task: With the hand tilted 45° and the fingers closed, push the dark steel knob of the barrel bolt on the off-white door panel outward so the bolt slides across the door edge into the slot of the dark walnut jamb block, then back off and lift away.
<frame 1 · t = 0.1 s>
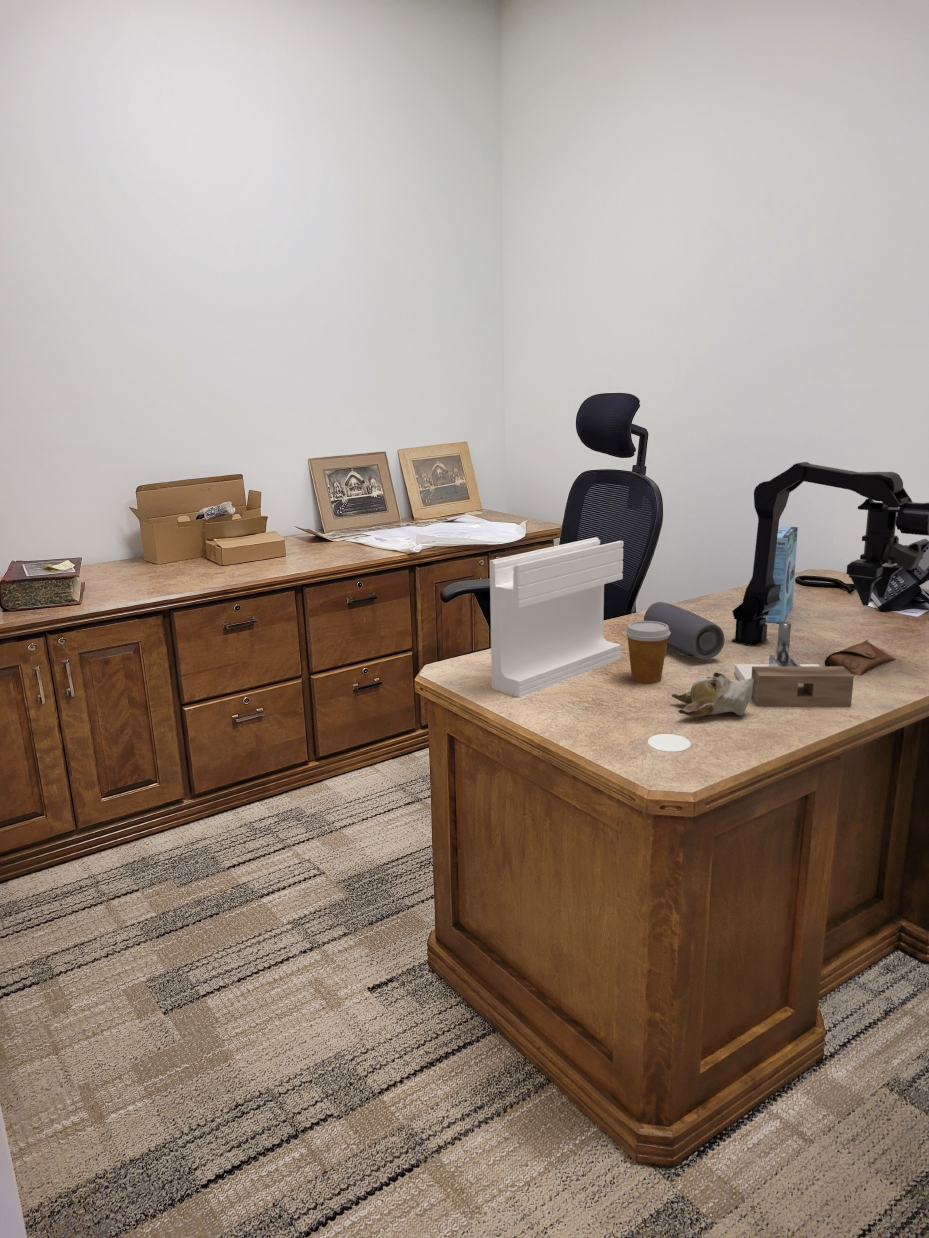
hand: (873, 601, 192), 15 cm above the table, fingers open, 9 cm apart
disposable coffee cup: (646, 679, 190), on the table
light blue flat box: (778, 615, 239), on the table
door jamb: (800, 686, 175), on the table
bolt: (787, 650, 184), point 7 cm above the table, slide at 0.0 cm
door panel: (787, 686, 184), on the table
ceramic sculpture: (712, 714, 170), on the table
sunglasses case: (860, 666, 197), on the table
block: (559, 673, 196), on the table
bluetooth speaker: (681, 651, 210), on the table
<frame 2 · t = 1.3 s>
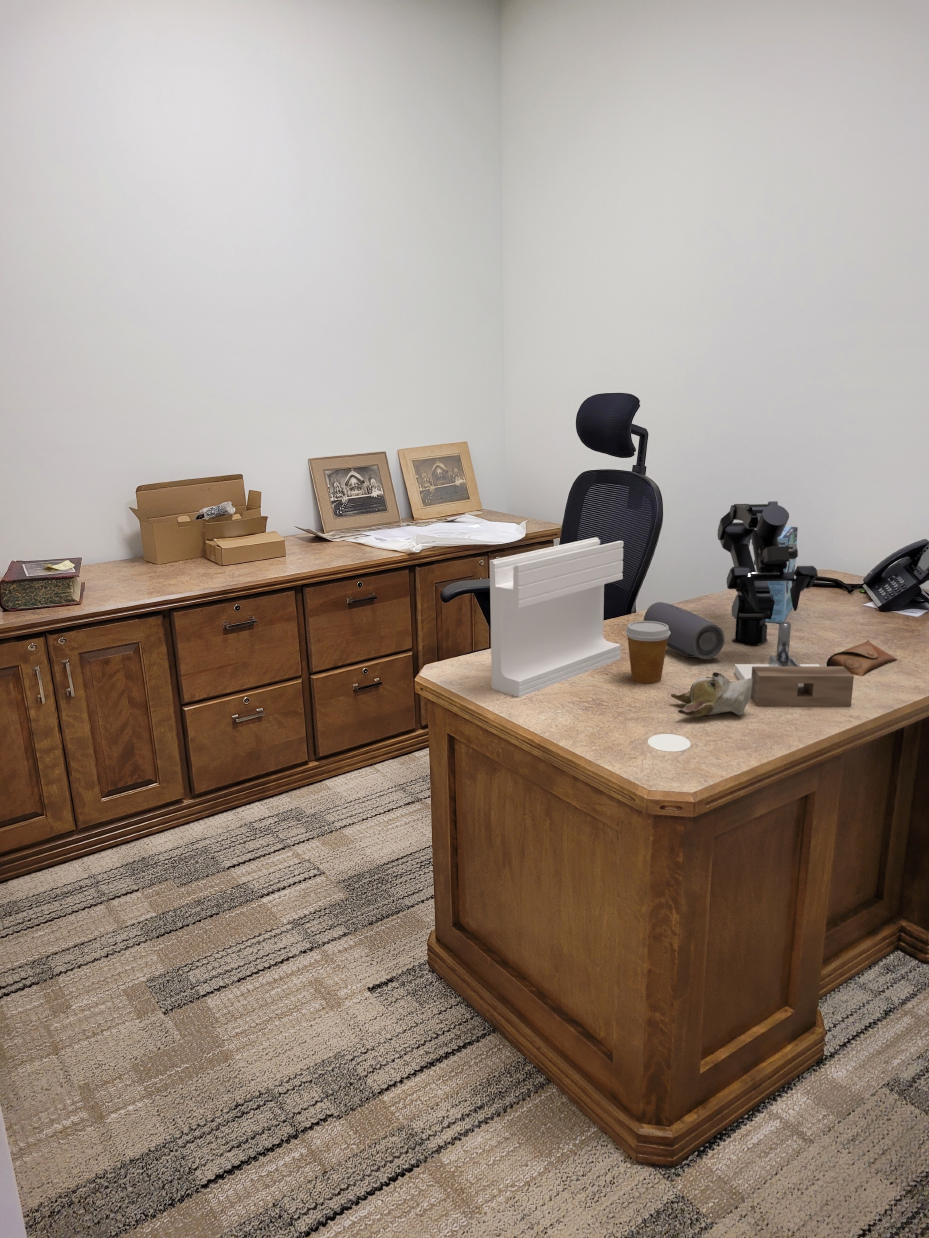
hand: (776, 610, 192), 13 cm above the table, fingers open, 8 cm apart
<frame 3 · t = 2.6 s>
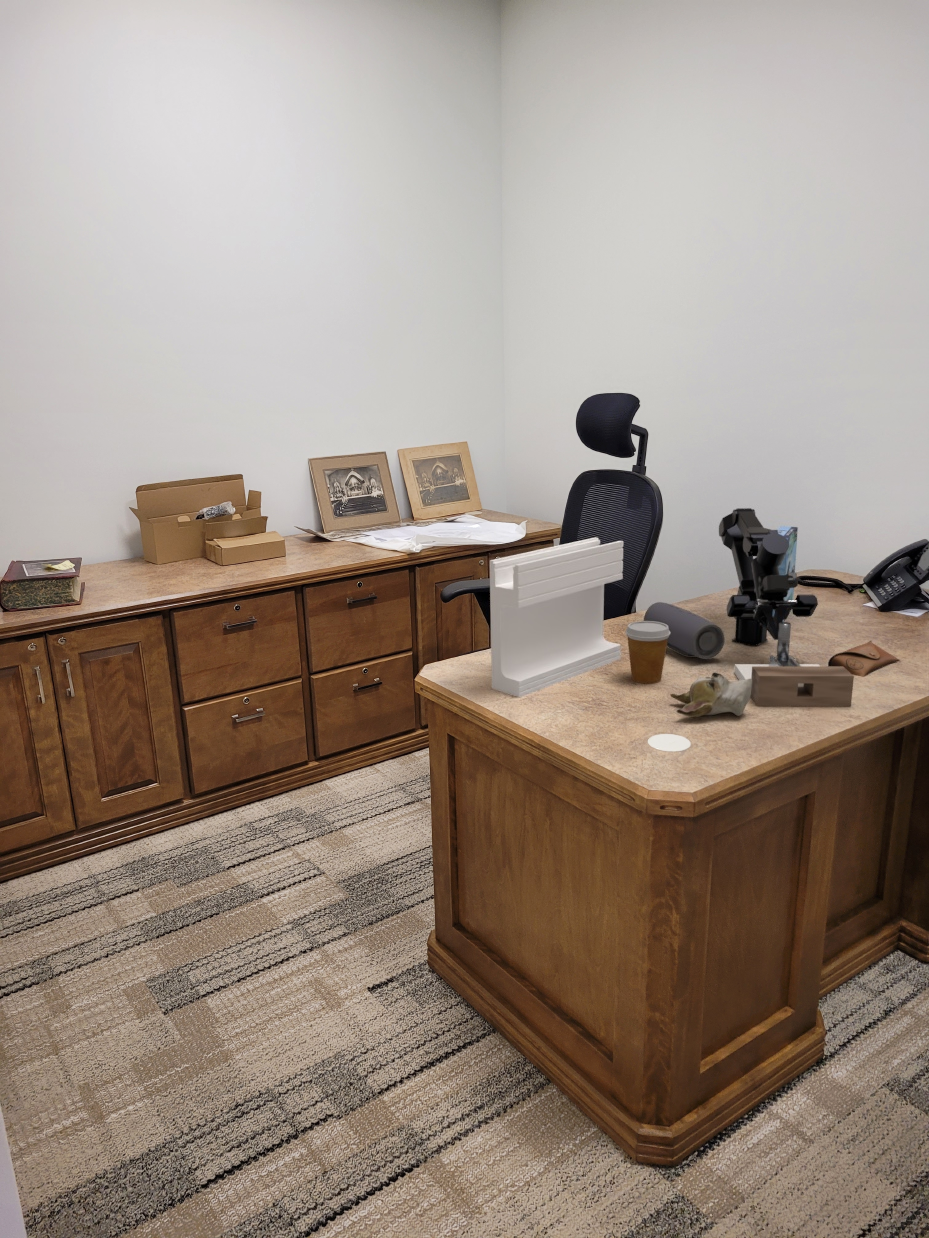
hand: (776, 638, 192), 7 cm above the table, fingers closed
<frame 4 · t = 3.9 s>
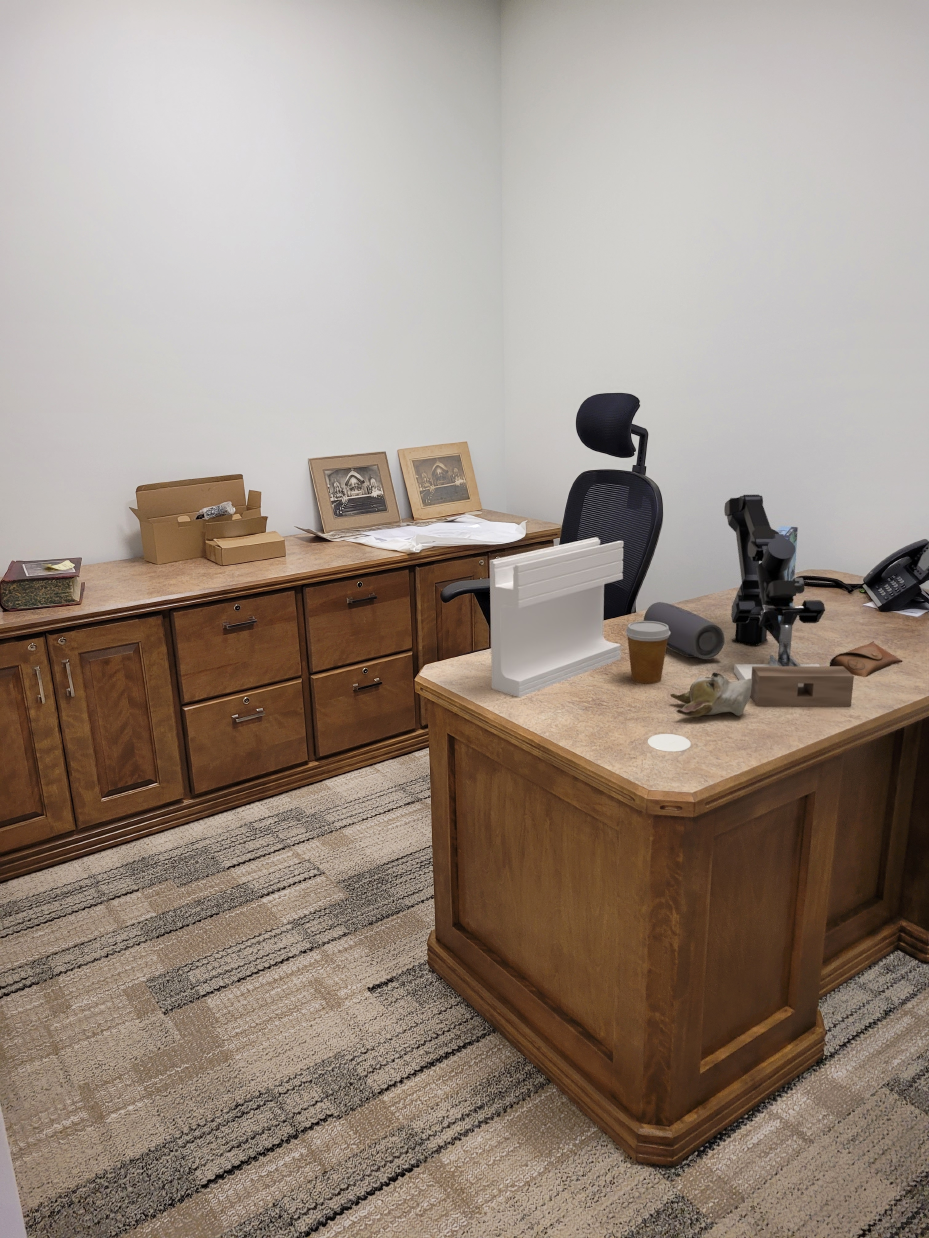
hand: (783, 645, 187), 7 cm above the table, fingers closed, pressing on bolt
bolt: (788, 651, 183), point 7 cm above the table, slide at 1.0 cm, touching gripper
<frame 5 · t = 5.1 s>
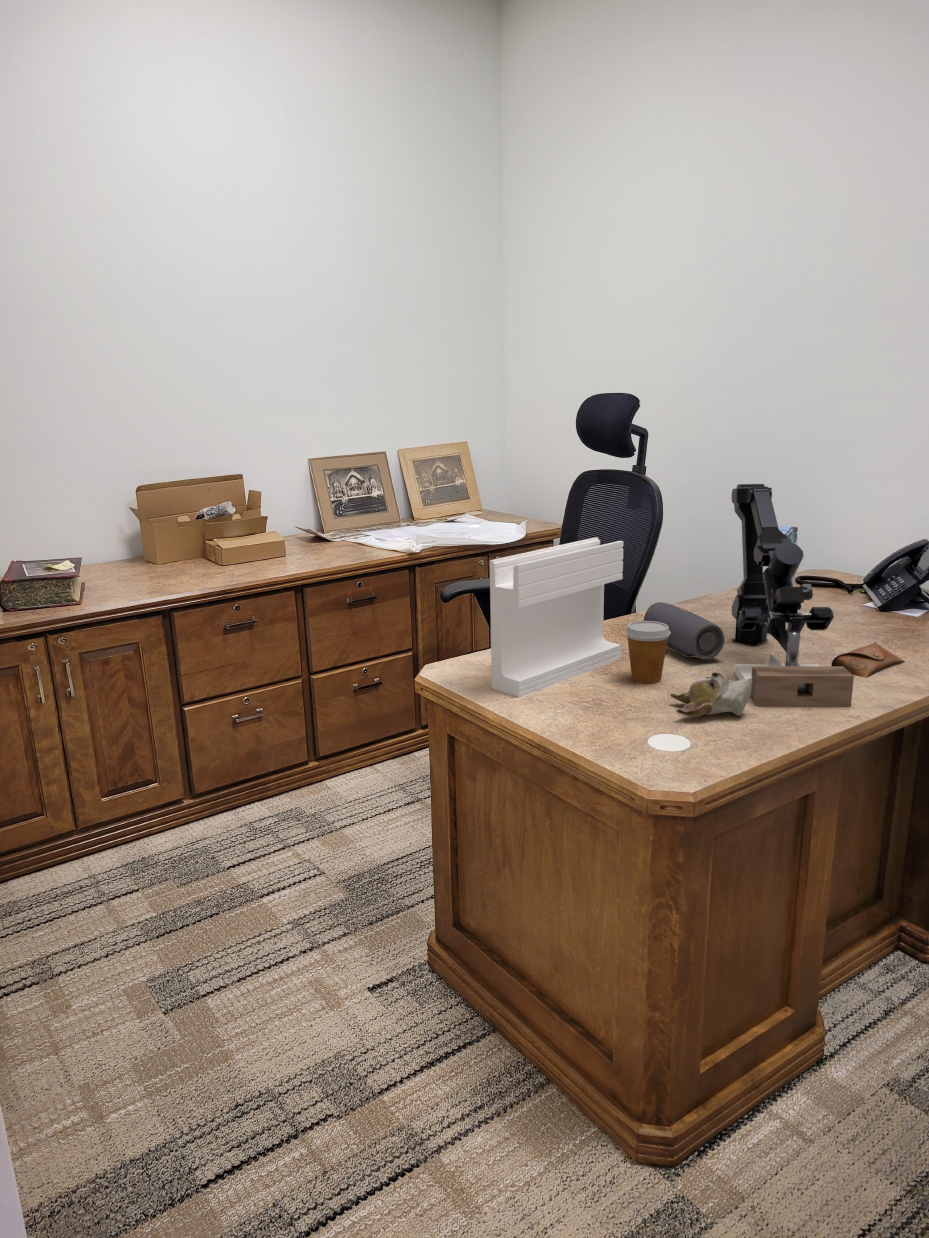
hand: (790, 653, 181), 7 cm above the table, fingers closed, pressing on bolt
bolt: (796, 659, 177), point 7 cm above the table, slide at 6.6 cm, touching gripper
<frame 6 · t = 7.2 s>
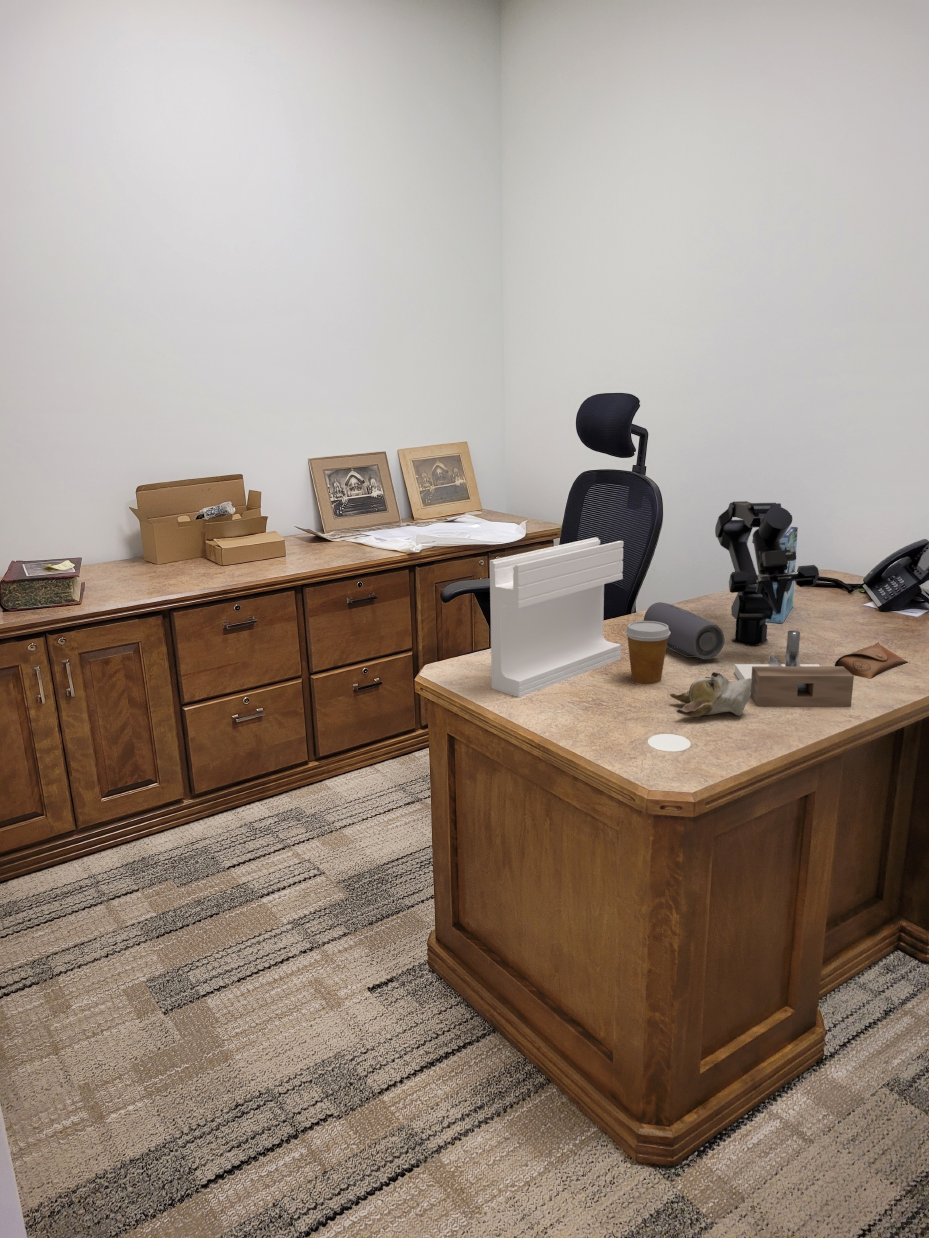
hand: (778, 613, 193), 12 cm above the table, fingers closed
bolt: (796, 659, 177), point 7 cm above the table, slide at 6.5 cm
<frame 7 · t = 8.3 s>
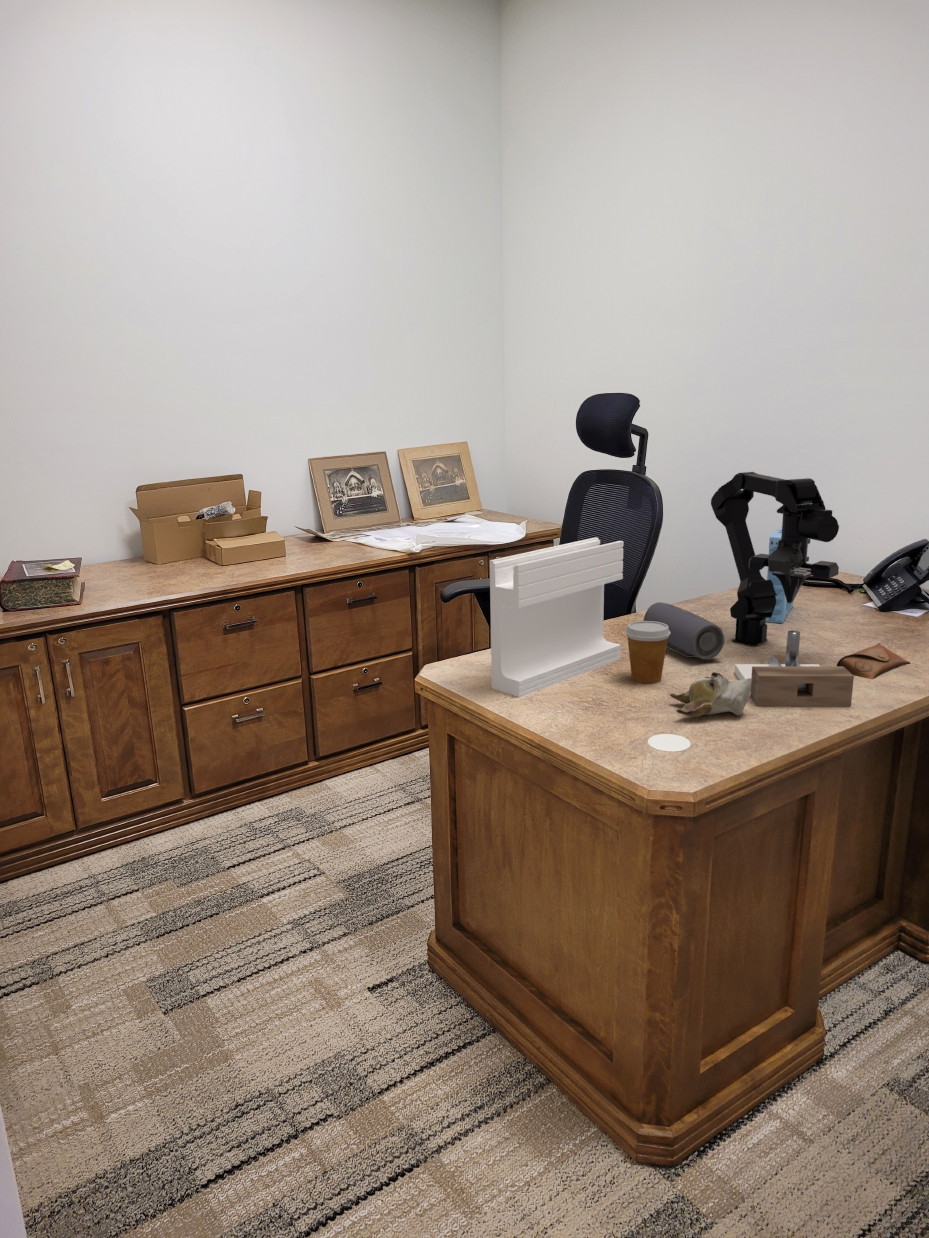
hand: (789, 602, 200), 13 cm above the table, fingers closed
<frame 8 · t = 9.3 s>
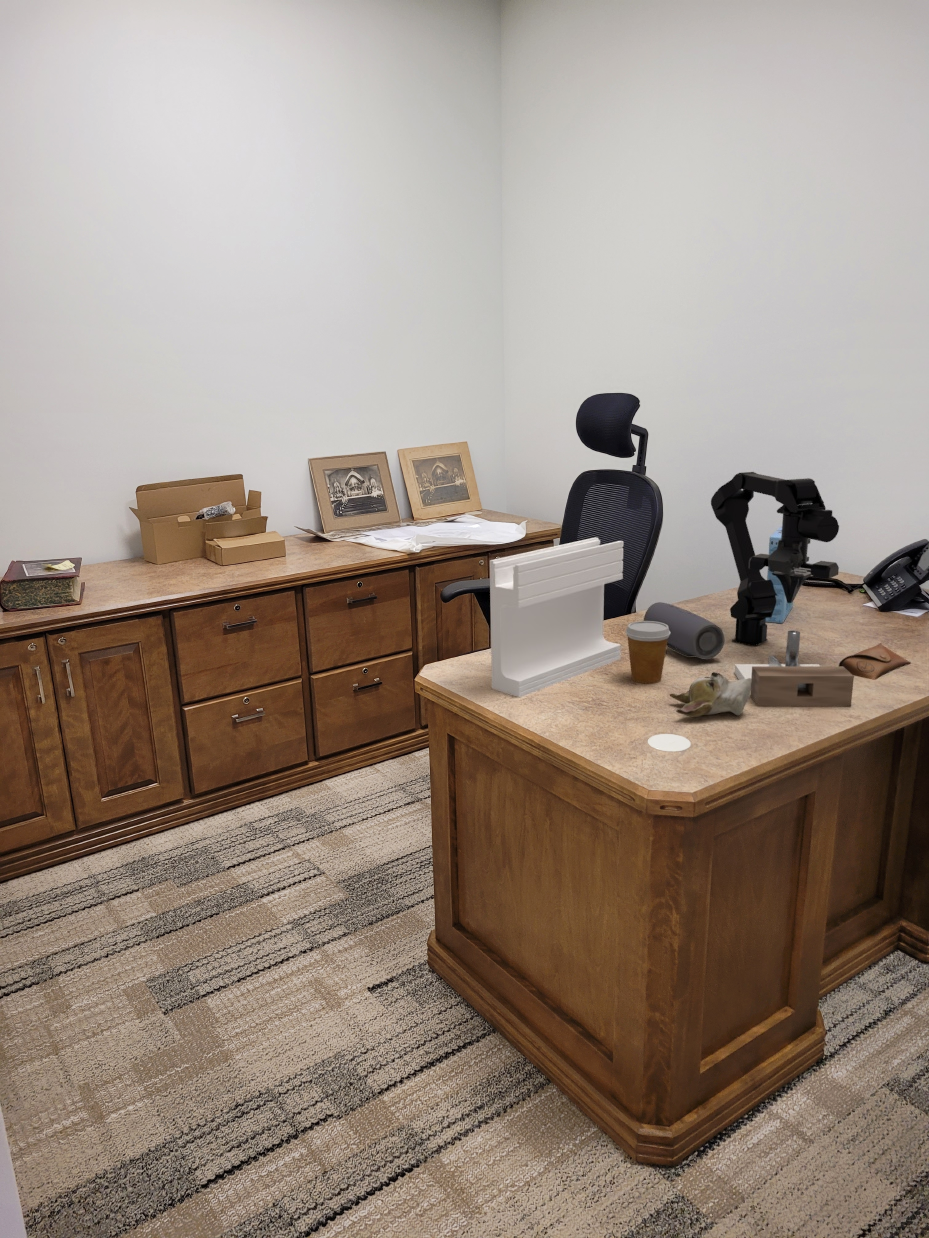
hand: (789, 602, 200), 13 cm above the table, fingers closed
at the end: bolt slide at 6.5 cm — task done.
